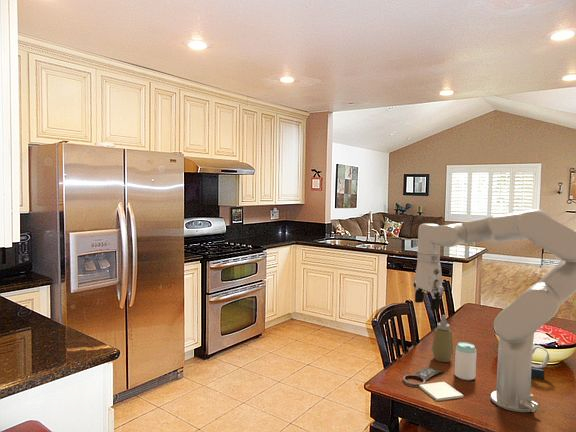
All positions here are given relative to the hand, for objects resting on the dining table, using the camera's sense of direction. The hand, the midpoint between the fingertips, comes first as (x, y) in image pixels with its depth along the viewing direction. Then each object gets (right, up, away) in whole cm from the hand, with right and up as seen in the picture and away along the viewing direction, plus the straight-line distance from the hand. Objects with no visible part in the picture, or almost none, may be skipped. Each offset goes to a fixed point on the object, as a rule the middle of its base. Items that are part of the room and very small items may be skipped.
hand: (426, 305), depth 151 cm
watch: (+42, -27, +5) cm, 50 cm away
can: (+15, -27, +3) cm, 31 cm away
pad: (+2, -27, -9) cm, 29 cm away
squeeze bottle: (+12, -26, +19) cm, 34 cm away
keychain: (-1, -27, +2) cm, 27 cm away
